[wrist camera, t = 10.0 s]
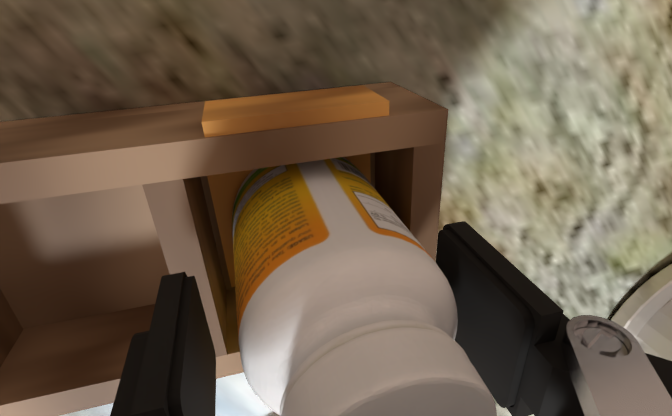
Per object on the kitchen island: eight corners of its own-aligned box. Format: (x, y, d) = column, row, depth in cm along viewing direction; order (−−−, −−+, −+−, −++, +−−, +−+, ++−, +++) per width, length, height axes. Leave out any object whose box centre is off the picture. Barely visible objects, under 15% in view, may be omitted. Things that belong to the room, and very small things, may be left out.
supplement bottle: (237, 276, 16) (256, 574, 8) (224, 148, 14) (229, 384, 5) (364, 259, 17) (499, 501, 9) (373, 140, 15) (570, 319, 6)
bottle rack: (390, 70, 15) (449, 94, 11) (388, 262, 19) (429, 328, 15) (-447, 151, 10) (-838, 240, 7) (-212, 380, 15) (-367, 515, 11)
